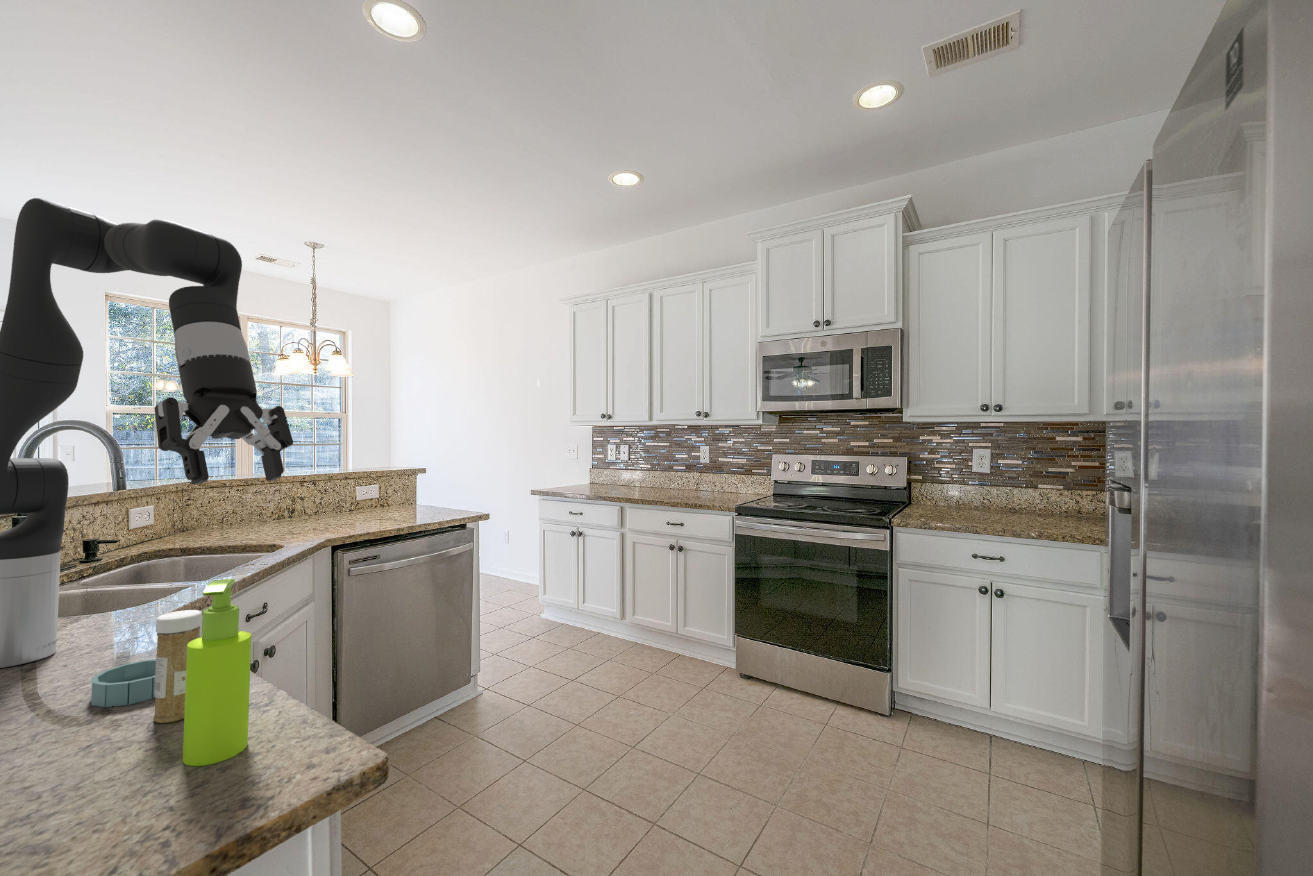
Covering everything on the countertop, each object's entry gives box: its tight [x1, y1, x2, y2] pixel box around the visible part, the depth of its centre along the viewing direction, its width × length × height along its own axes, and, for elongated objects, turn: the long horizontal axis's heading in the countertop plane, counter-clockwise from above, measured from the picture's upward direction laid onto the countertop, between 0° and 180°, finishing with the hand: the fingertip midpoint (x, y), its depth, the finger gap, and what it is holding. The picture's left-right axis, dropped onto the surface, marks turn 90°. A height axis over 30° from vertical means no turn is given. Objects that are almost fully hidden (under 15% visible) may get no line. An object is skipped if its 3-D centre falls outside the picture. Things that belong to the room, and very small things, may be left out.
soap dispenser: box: [182, 578, 252, 767], centre depth 63 cm, size 6×7×20 cm
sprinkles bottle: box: [152, 609, 203, 724], centre depth 71 cm, size 5×5×13 cm
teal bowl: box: [90, 658, 156, 708], centre depth 78 cm, size 9×9×3 cm
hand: (239, 480), depth 68 cm, fingers open, 8 cm apart
